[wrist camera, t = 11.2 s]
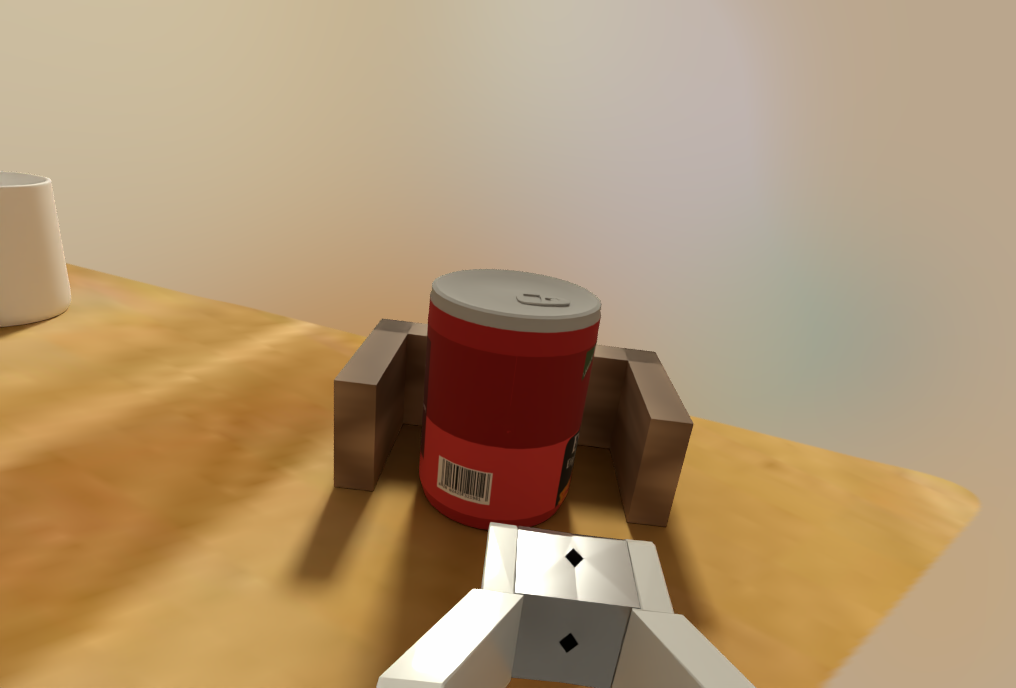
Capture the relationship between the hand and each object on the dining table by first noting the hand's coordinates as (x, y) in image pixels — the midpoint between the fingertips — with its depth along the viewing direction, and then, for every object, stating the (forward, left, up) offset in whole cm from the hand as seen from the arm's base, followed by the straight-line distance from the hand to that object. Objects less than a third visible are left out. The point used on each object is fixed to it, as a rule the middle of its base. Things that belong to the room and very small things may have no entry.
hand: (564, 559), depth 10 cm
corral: (-1, +20, -11) cm, 23 cm away
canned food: (-1, +17, -11) cm, 20 cm away
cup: (-41, +30, -11) cm, 52 cm away
